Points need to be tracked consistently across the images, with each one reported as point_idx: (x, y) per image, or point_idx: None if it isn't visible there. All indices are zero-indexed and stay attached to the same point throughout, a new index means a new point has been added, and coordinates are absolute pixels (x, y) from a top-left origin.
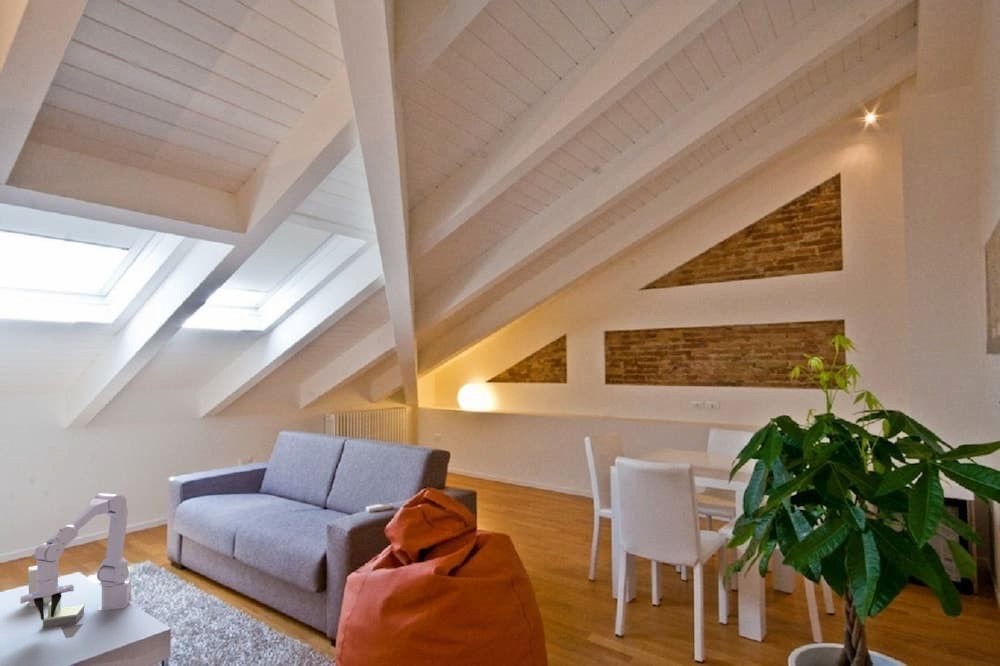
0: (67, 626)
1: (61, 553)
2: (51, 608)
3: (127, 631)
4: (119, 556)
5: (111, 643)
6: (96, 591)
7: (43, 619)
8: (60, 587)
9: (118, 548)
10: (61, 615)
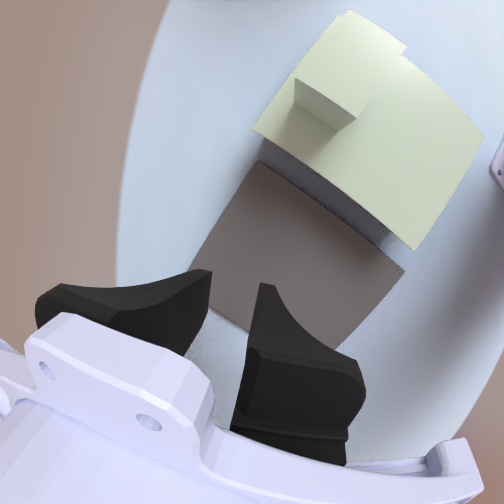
0: (352, 237)
1: None
2: (254, 323)
3: (413, 428)
4: None
5: (349, 455)
6: None
7: (259, 132)
8: (370, 497)
9: None
10: (356, 180)
